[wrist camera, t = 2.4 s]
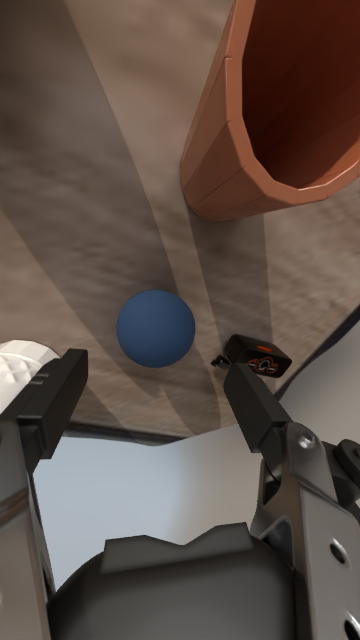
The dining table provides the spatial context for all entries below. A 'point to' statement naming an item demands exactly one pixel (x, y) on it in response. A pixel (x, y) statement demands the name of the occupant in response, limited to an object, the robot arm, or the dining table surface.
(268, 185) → the cup
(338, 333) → the dining table surface
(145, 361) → the ball
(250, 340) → the wireless earbuds
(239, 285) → the dining table surface
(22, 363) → the white cup
